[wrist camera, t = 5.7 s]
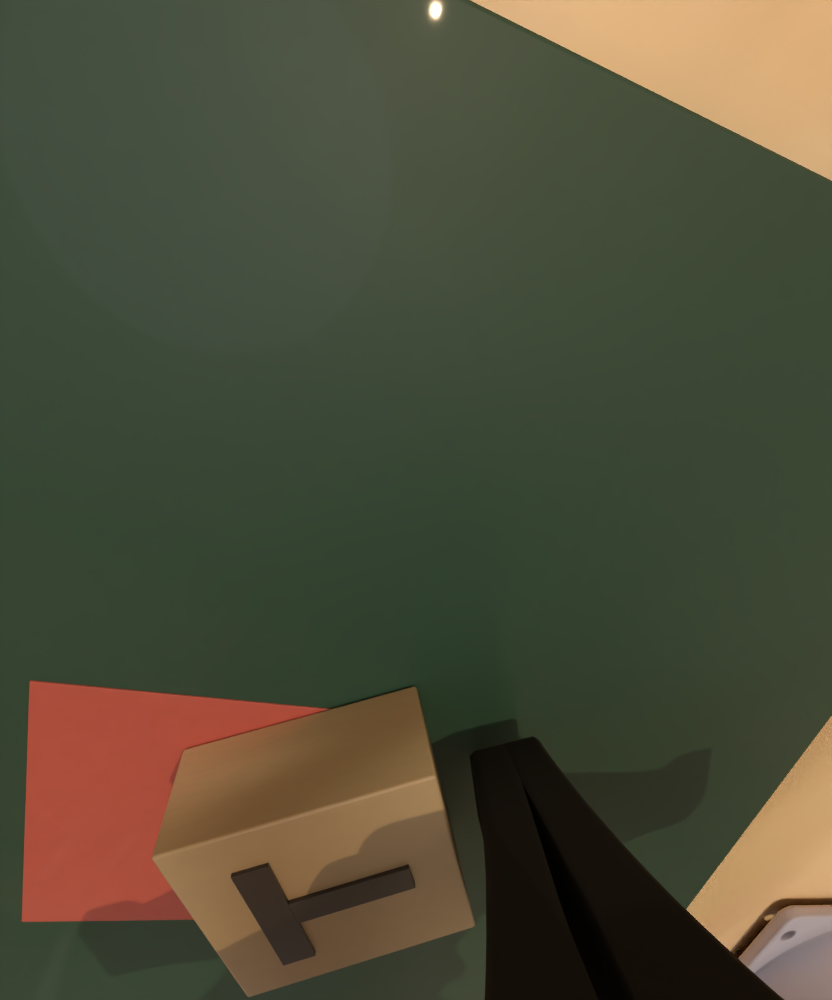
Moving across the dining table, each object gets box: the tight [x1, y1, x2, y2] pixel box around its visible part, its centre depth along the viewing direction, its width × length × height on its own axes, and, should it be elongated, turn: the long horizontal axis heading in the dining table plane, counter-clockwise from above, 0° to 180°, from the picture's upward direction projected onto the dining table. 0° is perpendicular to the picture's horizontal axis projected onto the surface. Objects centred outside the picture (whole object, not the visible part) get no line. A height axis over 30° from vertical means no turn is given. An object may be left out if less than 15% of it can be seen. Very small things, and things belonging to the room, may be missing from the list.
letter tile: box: [152, 686, 475, 997], centre depth 10 cm, size 4×4×2 cm
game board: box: [0, 0, 832, 1000], centre depth 11 cm, size 26×26×1 cm
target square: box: [22, 680, 329, 922], centre depth 10 cm, size 6×6×1 cm
